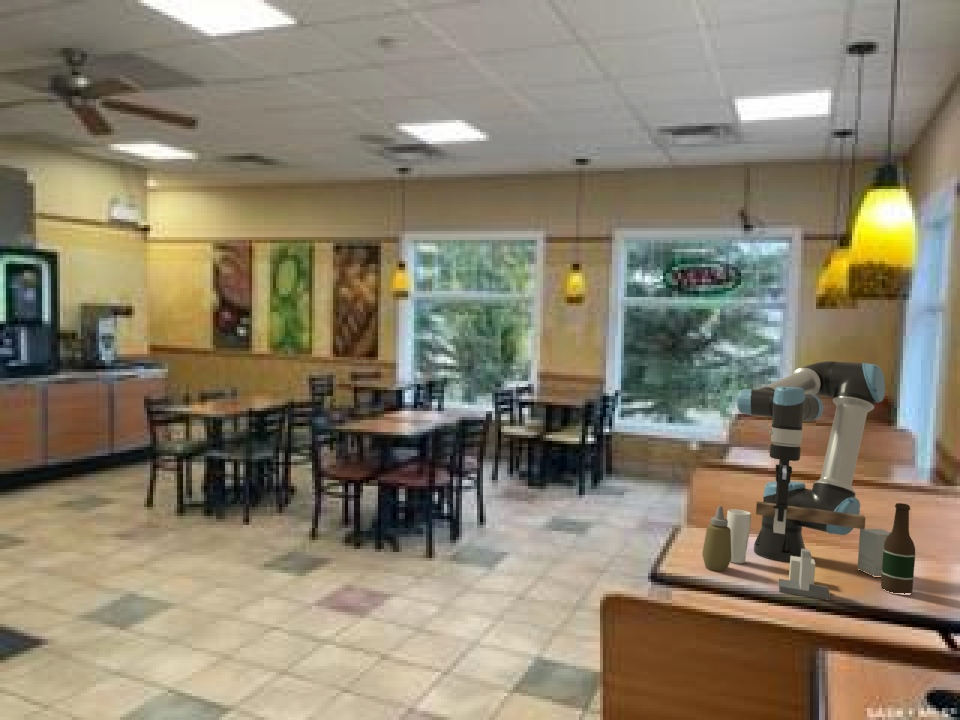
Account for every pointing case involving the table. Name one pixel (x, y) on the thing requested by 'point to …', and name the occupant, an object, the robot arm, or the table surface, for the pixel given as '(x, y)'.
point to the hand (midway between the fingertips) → (778, 531)
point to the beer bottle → (898, 554)
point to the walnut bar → (814, 515)
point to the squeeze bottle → (717, 543)
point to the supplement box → (871, 550)
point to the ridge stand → (804, 581)
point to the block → (795, 569)
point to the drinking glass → (739, 533)
